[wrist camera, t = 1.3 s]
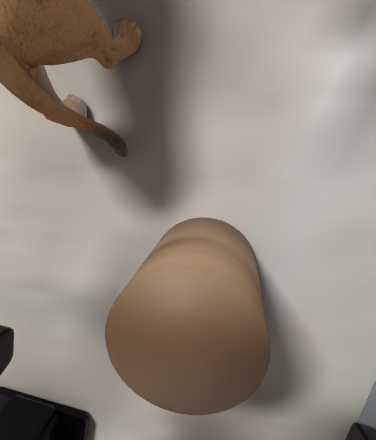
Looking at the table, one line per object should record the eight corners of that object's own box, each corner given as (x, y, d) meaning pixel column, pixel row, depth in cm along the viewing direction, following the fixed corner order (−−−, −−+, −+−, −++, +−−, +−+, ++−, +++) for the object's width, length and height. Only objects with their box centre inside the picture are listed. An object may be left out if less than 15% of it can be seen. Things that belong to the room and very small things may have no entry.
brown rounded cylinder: (243, 323, 15) (247, 432, 10) (147, 299, 16) (97, 390, 10) (268, 230, 14) (291, 294, 8) (163, 207, 14) (115, 252, 9)
